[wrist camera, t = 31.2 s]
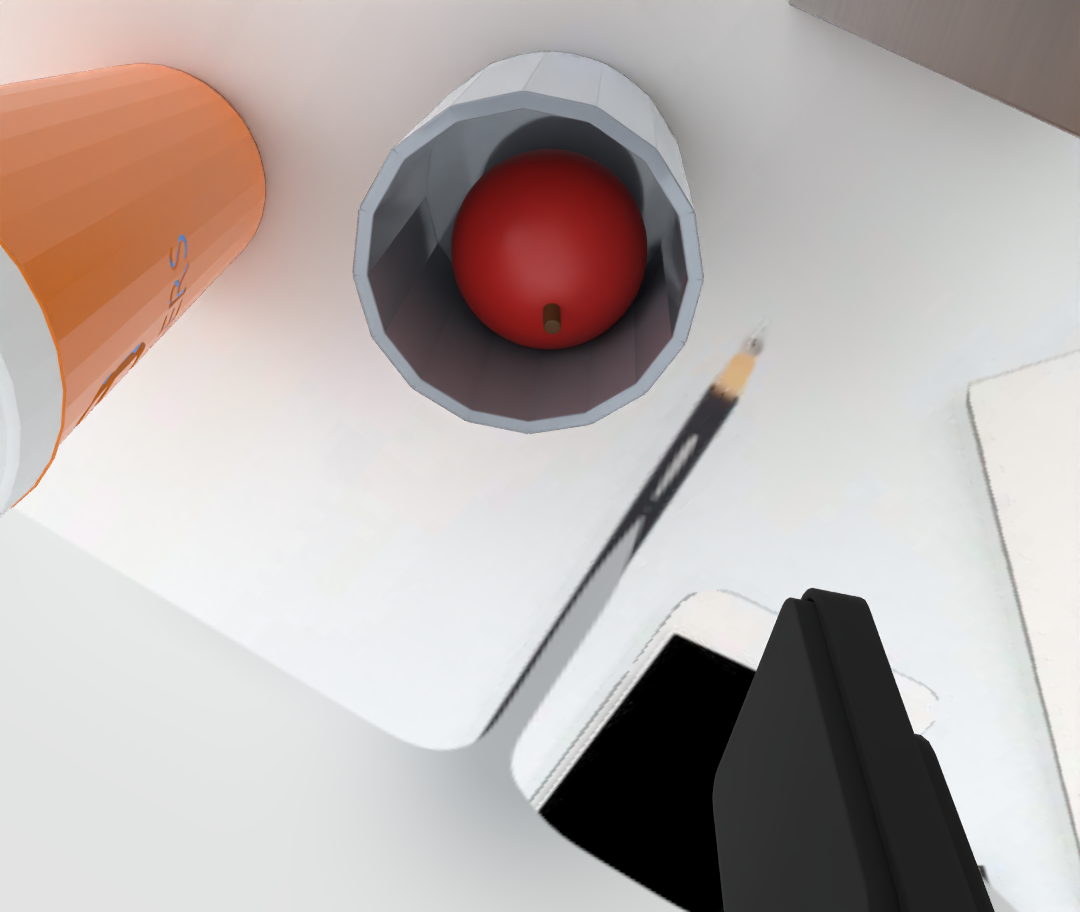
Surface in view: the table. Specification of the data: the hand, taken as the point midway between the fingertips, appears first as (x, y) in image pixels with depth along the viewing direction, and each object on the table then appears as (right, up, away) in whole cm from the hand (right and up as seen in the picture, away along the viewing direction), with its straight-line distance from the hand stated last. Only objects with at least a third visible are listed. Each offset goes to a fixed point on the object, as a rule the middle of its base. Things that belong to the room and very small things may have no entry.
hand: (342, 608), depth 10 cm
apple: (+2, +10, +22) cm, 24 cm away
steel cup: (+2, +10, +22) cm, 25 cm away
